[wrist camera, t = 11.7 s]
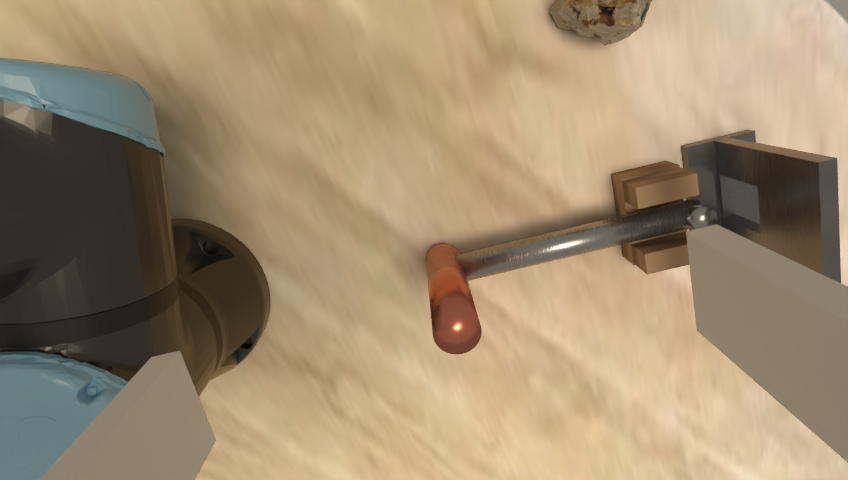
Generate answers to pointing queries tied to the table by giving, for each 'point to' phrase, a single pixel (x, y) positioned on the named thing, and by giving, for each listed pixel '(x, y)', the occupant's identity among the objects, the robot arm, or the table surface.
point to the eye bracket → (771, 197)
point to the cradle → (653, 191)
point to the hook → (536, 262)
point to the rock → (600, 17)
